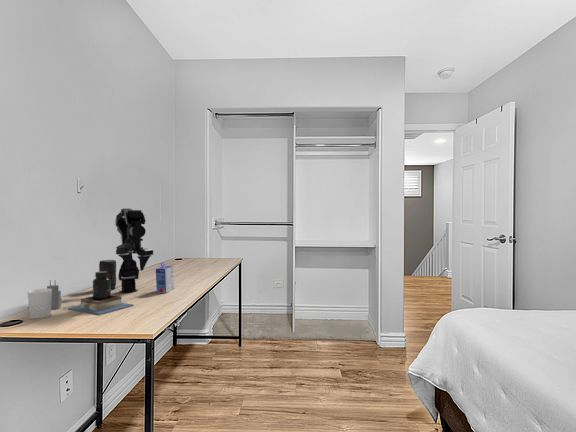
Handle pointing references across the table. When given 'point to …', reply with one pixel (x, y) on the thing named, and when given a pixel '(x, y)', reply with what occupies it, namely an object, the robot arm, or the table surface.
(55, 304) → the power adapter
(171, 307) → the table surface
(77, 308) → the board
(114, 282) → the camera lens
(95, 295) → the supplement bottle
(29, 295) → the white cup
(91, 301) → the foundation socket
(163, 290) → the ink cartridge box
